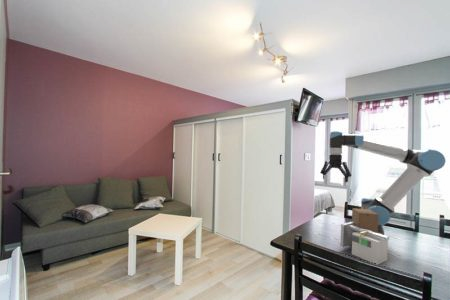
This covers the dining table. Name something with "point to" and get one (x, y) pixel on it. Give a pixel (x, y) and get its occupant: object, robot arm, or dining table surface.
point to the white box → (369, 248)
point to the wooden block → (365, 219)
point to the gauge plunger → (351, 228)
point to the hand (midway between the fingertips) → (334, 185)
